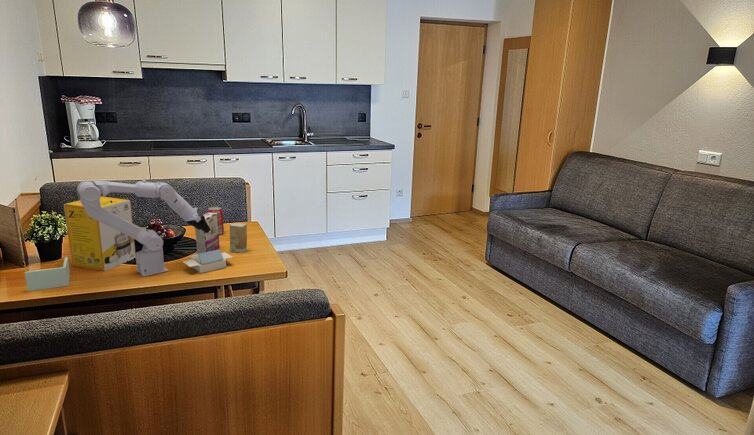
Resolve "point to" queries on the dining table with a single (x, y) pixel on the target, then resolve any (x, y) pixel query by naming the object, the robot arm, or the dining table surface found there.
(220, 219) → the soda can
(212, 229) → the candy bar box
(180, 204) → the robot arm
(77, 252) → the packaging box
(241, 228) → the skincare box
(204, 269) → the carton
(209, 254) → the flap
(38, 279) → the l-shaped corner panel
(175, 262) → the dining table surface
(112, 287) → the dining table surface
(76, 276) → the dining table surface
